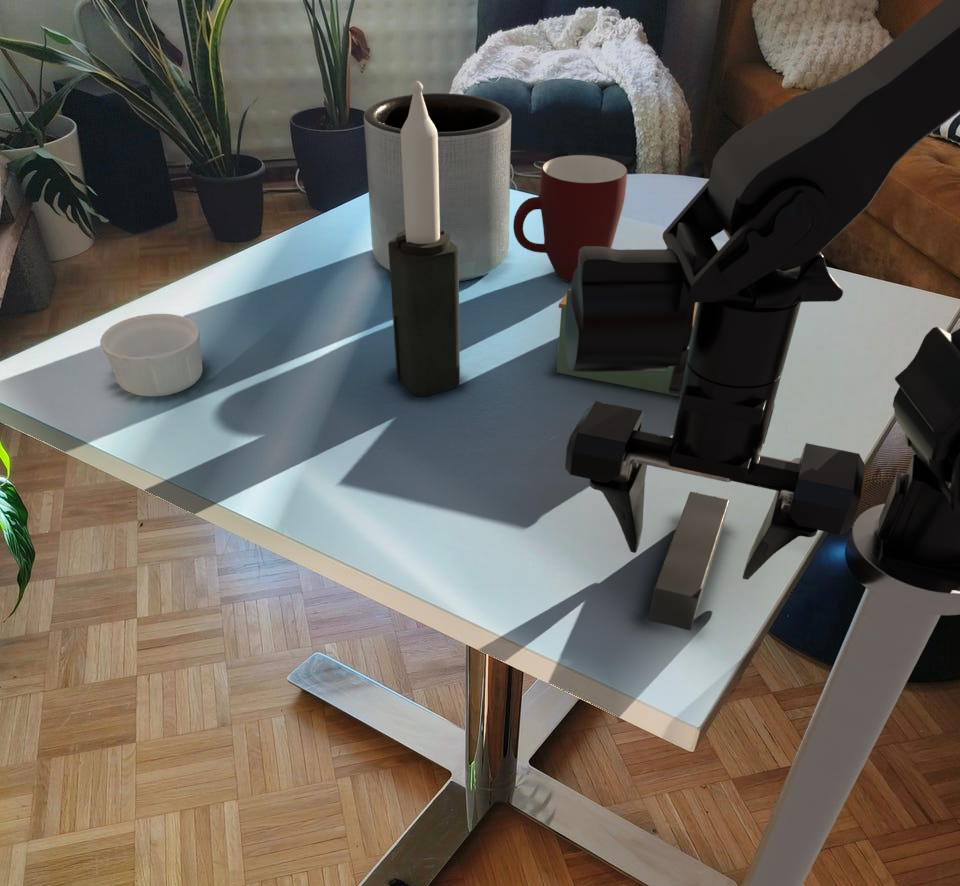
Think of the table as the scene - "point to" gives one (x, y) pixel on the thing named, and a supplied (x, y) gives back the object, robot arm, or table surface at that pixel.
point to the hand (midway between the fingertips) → (689, 562)
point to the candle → (424, 267)
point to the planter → (446, 176)
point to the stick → (688, 561)
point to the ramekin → (154, 353)
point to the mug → (575, 208)
